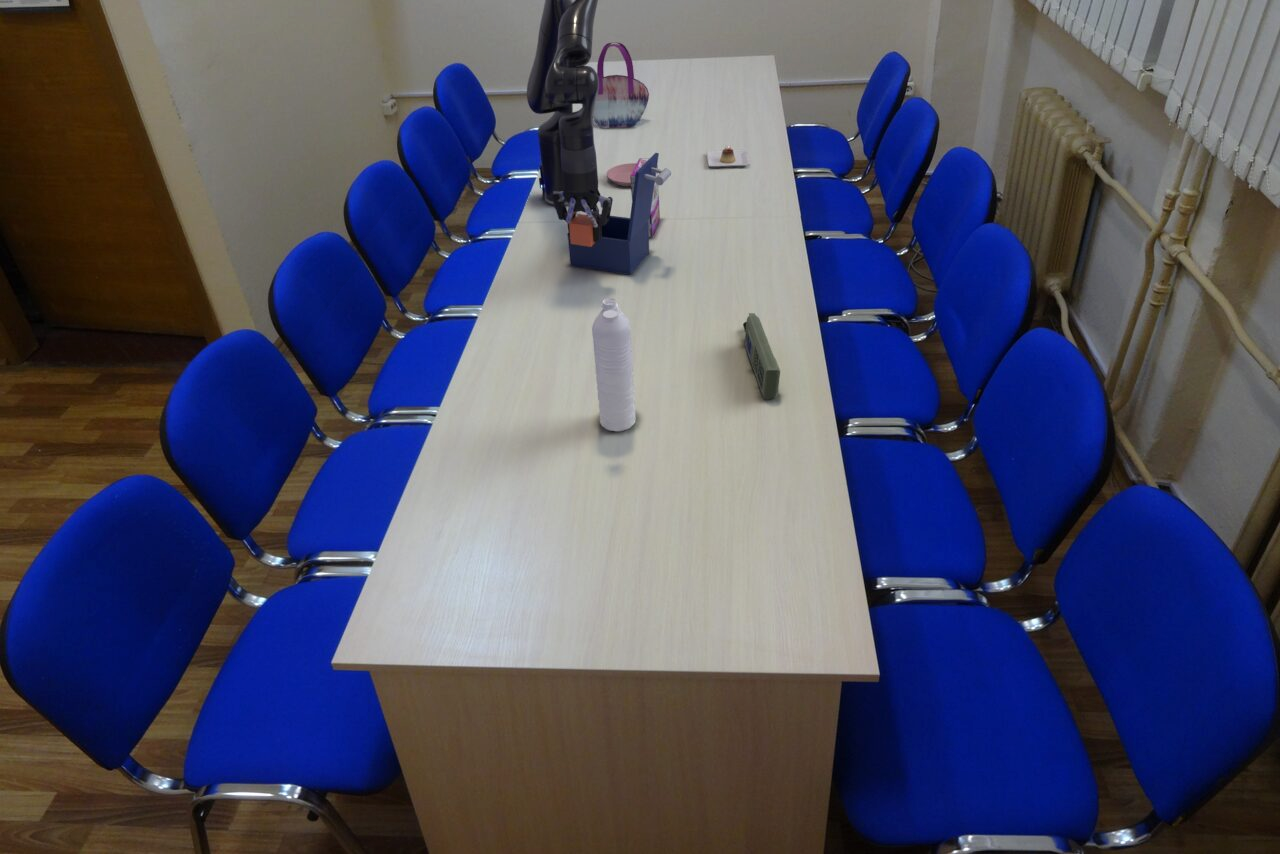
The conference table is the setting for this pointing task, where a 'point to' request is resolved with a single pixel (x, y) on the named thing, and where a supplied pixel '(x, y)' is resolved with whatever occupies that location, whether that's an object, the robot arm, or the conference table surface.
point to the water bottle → (614, 367)
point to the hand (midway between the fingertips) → (585, 238)
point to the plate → (621, 174)
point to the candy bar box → (655, 200)
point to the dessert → (728, 158)
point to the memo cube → (581, 231)
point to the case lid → (645, 193)
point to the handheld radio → (761, 357)
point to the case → (612, 248)
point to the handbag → (619, 95)
